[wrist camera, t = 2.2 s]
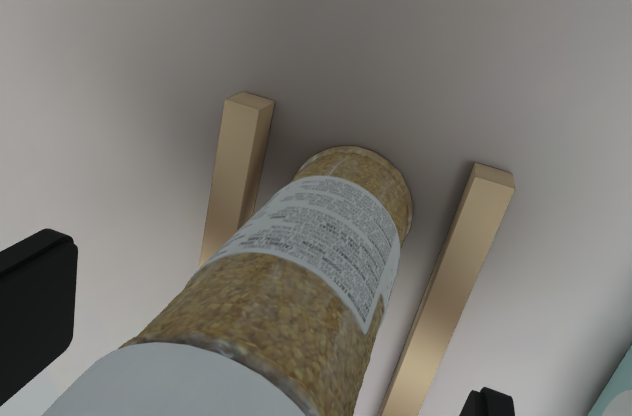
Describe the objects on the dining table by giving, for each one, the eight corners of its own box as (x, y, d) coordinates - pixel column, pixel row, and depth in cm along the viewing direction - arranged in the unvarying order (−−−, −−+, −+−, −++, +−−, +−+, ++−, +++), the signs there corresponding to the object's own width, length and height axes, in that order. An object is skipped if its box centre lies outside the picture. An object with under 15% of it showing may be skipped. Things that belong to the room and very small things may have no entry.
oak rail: (243, 91, 18) (203, 108, 16) (511, 173, 17) (519, 207, 14) (177, 482, 27) (144, 535, 24) (349, 558, 26) (334, 624, 23)
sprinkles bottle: (352, 282, 20) (168, 720, 8) (266, 198, 20) (-64, 521, 8) (444, 208, 18) (383, 647, 6) (349, 112, 18) (78, 369, 6)
